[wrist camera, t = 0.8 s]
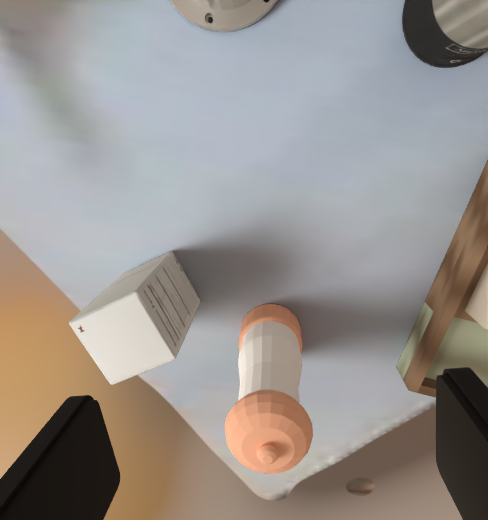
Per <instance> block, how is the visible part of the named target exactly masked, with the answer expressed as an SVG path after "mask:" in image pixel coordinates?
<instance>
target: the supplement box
mask: <svg viewBox="0 0 488 520" xmlns="http://www.w3.org/2000/svg"><path fill="white" fill-rule="evenodd" d="M200 303H201V301H200V299H199V297H198V296H197V294H196V292H195V290H194V288H193V287H192V285H191V283H190V281H189V279H188V278H187V276H186V274H185V272H184V271H183V269H182V267H181V265H180V264H179V262H178V260H177V258H176V256H175V255H174V253H173V252H172V251H170V252H168V253H166V254H163V255H161V256H159V257H157V258H155V259H153V260H151V261H149V262H146V263H144V264H142V265H140V266H138V267H136V268H134V269H132V270H130V271H128V272H126V273H124V274H122V275H121V276H120V277H119V278H118V279H117V280H116V281H114V282H113V283H112V284H111V285H110V286H109V287H108V288H107V289H106V290H104V291H103V292H102V293H101V294H100V295H99V296H98V297H97V298H96V299H94V300H93V301H92V302H91V303H90V304H89V305H88V306H87V307H86V308H84V309H83V310H82V311H81V312H80V313H79V314H78V315H77V316H75V317H74V318H73V319H72V320H71V321H70V322H69V324H70V325H71V327H72V328H73V330H74V331H75V333H76V335H77V336H78V338H79V339H80V341H81V342H82V343H83V345H84V346H85V348H86V349H87V351H88V352H89V354H90V355H91V357H92V358H93V360H94V361H95V363H96V364H97V365H98V367H99V368H100V370H101V371H102V373H103V374H104V376H105V377H106V379H107V380H108V381H109V382H110V384H111V385H113V384H116V383H118V382H120V381H123V380H125V379H127V378H130V377H133V376H135V375H138V374H140V373H143V372H145V371H148V370H150V369H152V368H155V367H157V366H160V365H162V364H165V363H167V362H169V361H172V360H174V359H176V356H177V354H178V352H179V350H180V348H181V345H182V343H183V341H184V339H185V336H186V334H187V332H188V330H189V327H190V325H191V323H192V321H193V318H194V316H195V314H196V312H197V309H198V307H199V305H200Z"/></svg>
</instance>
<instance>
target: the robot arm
mask: <svg viewBox="0 0 488 520" xmlns="http://www.w3.org/2000/svg"><path fill="white" fill-rule="evenodd" d="M277 1H278V0H269V2H267V3H266V2H264V0H170V2H171V3H172V5H173V6H174V7H175V8H176V9H177V11H178V12H179V13H180V14H181V15H183V16H184V17H185V18H186V19H187V20H188V21H190V22H191V23H193V24H195V25H197V26H199V27H200V28H204V29H207V30H210V31H215V32H231V31H237V30H240V29H243V28H246V27H249V26H250V25H252V24H254V23H255V22H257V21H259V20H260V19H261V18H262V17H263V16H265V15H266V14H267V13H268V12H269V11H270V10H271V9H272V7H273V6H274V5H275V3H276V2H277ZM210 18H212V19H213V22H212V23H208V20H209V19H210ZM436 462H437V466H438V469H439V472H440V474H441V477H442V479H443V480H444V483H445V484H446V487H447V489H448V491H449V492H450V495H451V496H452V499H453V501H454V503H455V505H456V506H457V508H458V510H459V512H460V514H461V516H462V518H463V520H488V387H487V386H486V385H485V384H484V383H483V382H482V380H481V379H480V378H479V377H478V376H477V375H476V374H475V372H474V371H473V370H472V369H471V368H469V367H462V368H449V369H444V371H443V375H438V376H437V378H436ZM119 482H120V472H119V468H118V465H117V462H116V459H115V456H114V452H113V448H112V445H111V442H110V439H109V435H108V432H107V429H106V425H105V422H104V419H103V415H102V412H101V409H100V406H99V403H98V401H97V400H94V399H93V398H92V397H91V396H89V395H86V396H73V397H69V398H68V399H66V400H65V402H64V403H63V404H62V406H60V408H59V409H58V410H57V411H56V413H55V414H54V415H53V416H52V417H51V419H50V420H49V421H48V422H47V423H46V425H45V426H44V427H43V428H42V429H41V431H40V432H39V433H38V434H37V436H36V437H35V438H34V439H33V440H32V442H31V443H30V444H29V445H28V446H27V448H26V449H25V450H24V451H23V452H22V454H21V455H20V456H19V457H18V458H17V460H16V461H15V462H14V463H13V464H12V466H11V467H10V468H9V469H8V470H7V472H6V473H5V474H4V475H3V477H2V478H1V479H0V520H103V519H104V517H105V515H106V512H107V510H108V508H109V506H110V504H111V502H112V500H113V497H114V495H115V493H116V491H117V489H118V486H119Z"/></svg>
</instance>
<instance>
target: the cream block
mask: <svg viewBox="0 0 488 520" xmlns="http://www.w3.org/2000/svg"><path fill="white" fill-rule="evenodd" d="M464 311H465V312H467V313H468V314H469V315H470V316H471V317H472V318H473V319H474V320H475V321H477V322H478V323H479V324H480V325H481V326H482V327H483V328H484V329H488V263H487V265H486V267H485V269H484V271H483V273H482V275H481V277H480V279H479V282H478V284H477V286H476V288H475V290H474V292H473V294H472V296H471V298H470V300H469V302H468V304H467V306H466V308H465V310H464Z"/></svg>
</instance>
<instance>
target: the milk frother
mask: <svg viewBox="0 0 488 520" xmlns="http://www.w3.org/2000/svg"><path fill="white" fill-rule="evenodd" d="M402 17H403V18H402V24H403V32H404V36H405V39H406V42H407V44H408V46H409V48H410V49H411V51H412V52H413V53H414V54H415V55H416V57H418V58H419V59H420V60H421V61H423V62H424V63H427V64H429V65H431V66H435V67H441V68H450V67H457V66H461V65H464V64H466V63H469V62H471V61H473V60H475V59H476V58H478V57H479V56H481V55H482V54H483V53H484V52H486V51H488V0H405V4H404V8H403V16H402Z"/></svg>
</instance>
